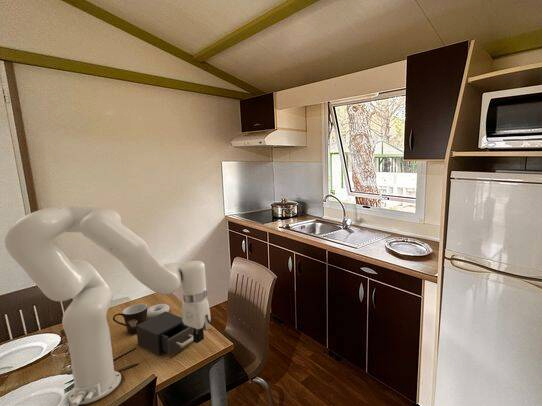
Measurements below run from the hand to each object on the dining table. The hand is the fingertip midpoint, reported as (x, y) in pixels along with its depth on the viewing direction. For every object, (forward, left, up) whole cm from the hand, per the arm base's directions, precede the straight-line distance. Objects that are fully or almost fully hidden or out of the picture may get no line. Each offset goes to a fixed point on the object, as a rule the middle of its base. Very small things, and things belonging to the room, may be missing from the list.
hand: (198, 340), depth 102 cm
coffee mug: (+28, +29, -7) cm, 41 cm away
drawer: (+9, +9, -6) cm, 14 cm away
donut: (+39, +23, -7) cm, 46 cm away
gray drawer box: (+15, +15, -7) cm, 23 cm away
